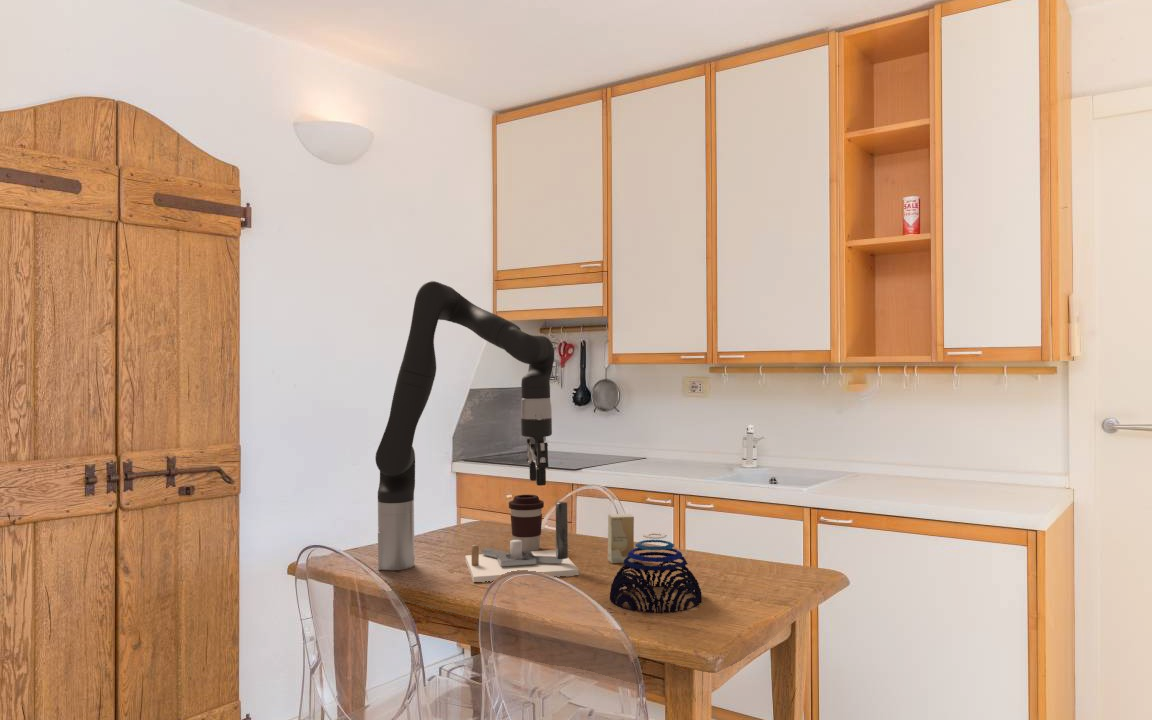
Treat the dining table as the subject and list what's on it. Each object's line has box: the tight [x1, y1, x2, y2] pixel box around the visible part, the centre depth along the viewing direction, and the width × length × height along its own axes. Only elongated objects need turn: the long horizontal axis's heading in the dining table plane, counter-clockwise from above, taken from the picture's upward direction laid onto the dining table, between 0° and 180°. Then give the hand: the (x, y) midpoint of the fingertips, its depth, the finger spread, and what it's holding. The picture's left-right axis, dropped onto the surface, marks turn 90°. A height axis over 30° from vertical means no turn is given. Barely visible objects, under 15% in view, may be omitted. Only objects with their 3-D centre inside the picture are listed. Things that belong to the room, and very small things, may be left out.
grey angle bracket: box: [480, 501, 569, 566], centre depth 209 cm, size 20×17×15 cm
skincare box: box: [607, 513, 635, 564], centre depth 212 cm, size 6×4×12 cm
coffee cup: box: [508, 494, 545, 552], centre depth 227 cm, size 10×10×15 cm
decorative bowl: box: [609, 532, 703, 614], centre depth 178 cm, size 20×20×14 cm
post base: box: [465, 539, 580, 583], centre depth 206 cm, size 26×22×7 cm
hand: (537, 482), depth 197 cm, fingers open, 8 cm apart
